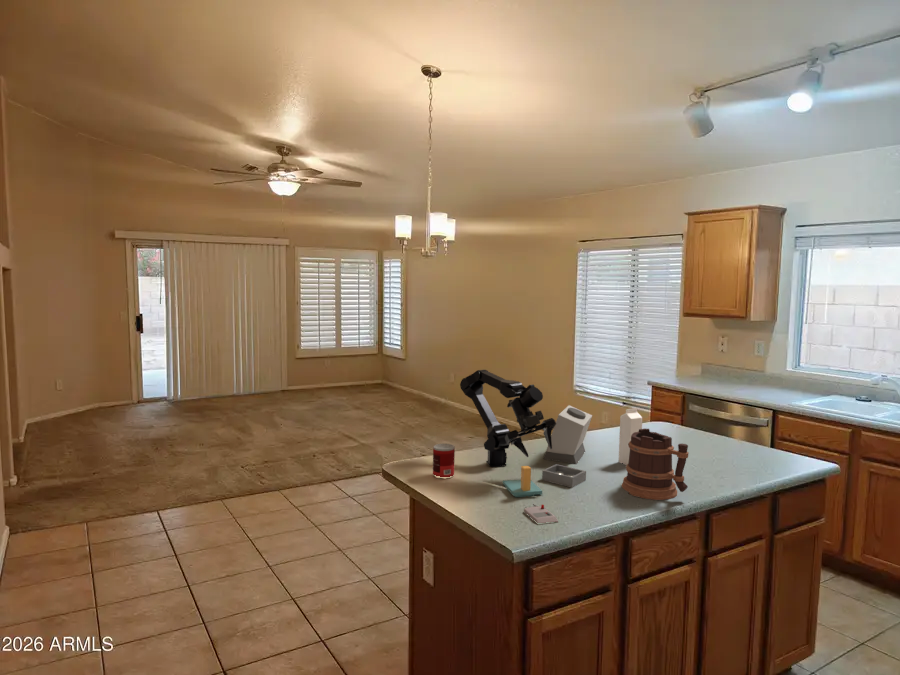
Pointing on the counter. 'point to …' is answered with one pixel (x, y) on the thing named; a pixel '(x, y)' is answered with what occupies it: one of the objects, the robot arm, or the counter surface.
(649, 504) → the counter surface
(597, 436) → the counter surface
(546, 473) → the tub
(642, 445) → the mug
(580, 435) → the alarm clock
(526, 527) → the counter surface
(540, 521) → the electrical control box
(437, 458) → the canned food
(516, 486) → the lid
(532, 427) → the robot arm
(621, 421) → the milk
